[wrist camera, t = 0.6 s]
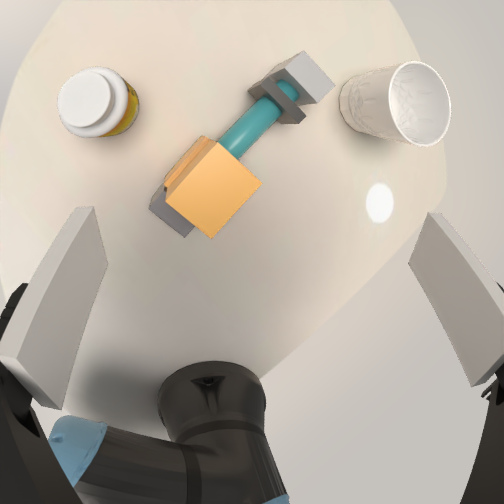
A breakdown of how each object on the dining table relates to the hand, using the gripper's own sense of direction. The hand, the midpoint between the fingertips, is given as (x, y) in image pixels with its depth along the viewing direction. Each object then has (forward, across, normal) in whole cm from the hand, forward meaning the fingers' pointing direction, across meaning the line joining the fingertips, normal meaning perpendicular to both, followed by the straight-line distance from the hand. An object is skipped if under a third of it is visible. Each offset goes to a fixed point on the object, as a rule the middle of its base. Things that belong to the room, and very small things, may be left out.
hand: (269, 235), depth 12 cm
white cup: (+25, -13, -1) cm, 28 cm away
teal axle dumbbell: (+21, +1, +3) cm, 21 cm away
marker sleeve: (+18, +4, +6) cm, 19 cm away
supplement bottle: (+20, +13, -1) cm, 24 cm away
